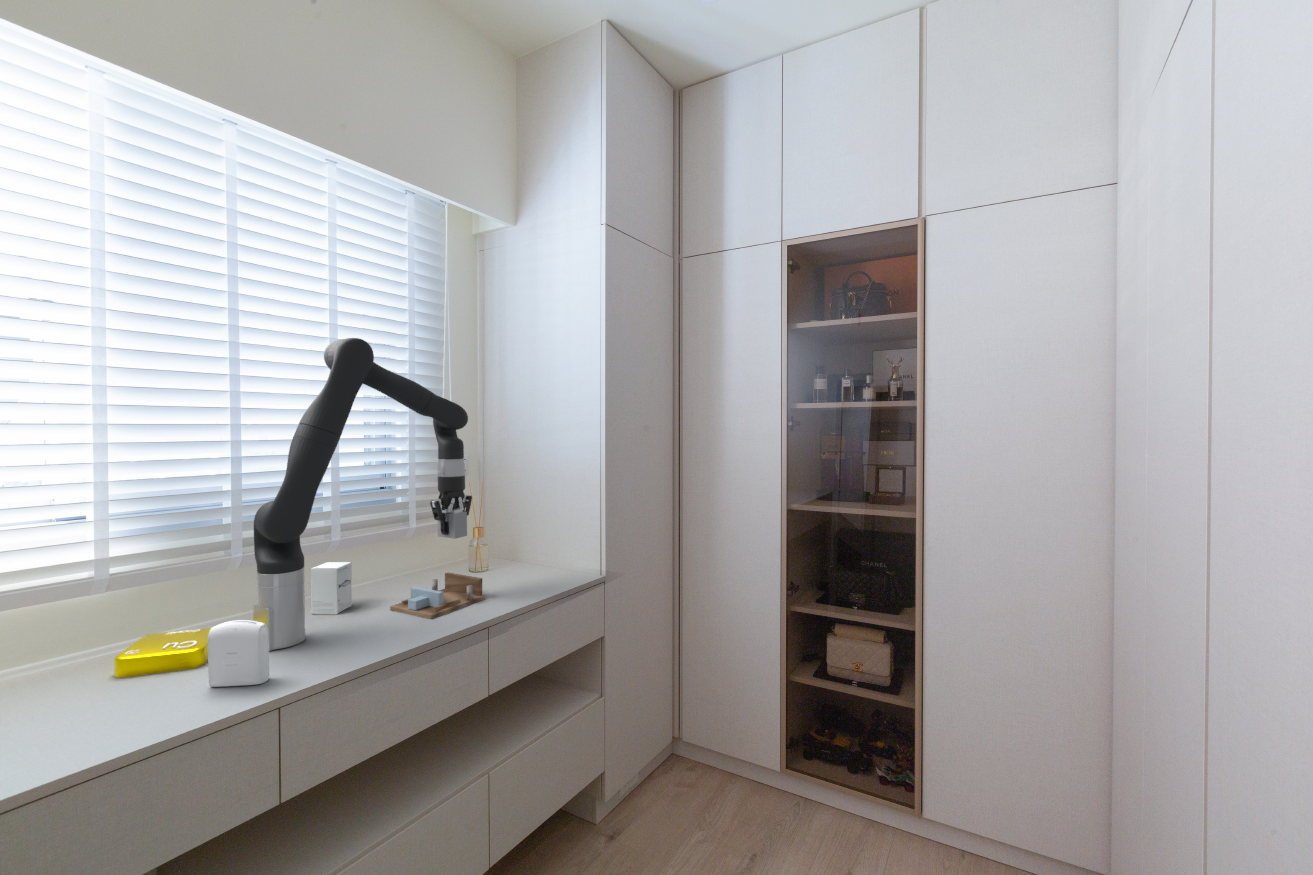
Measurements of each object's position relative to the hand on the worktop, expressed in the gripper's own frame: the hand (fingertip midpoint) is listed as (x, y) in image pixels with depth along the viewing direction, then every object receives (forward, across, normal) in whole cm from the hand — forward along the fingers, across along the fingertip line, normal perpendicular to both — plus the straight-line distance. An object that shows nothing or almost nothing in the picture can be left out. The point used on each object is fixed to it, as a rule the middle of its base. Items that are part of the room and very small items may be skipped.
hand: (452, 532), depth 165 cm
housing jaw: (+18, -11, 0) cm, 22 cm away
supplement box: (+20, -22, +22) cm, 37 cm away
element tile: (+20, -59, +21) cm, 65 cm away
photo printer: (+19, -58, -4) cm, 61 cm away
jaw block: (+1, 0, 0) cm, 1 cm away
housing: (+20, -4, 0) cm, 20 cm away
